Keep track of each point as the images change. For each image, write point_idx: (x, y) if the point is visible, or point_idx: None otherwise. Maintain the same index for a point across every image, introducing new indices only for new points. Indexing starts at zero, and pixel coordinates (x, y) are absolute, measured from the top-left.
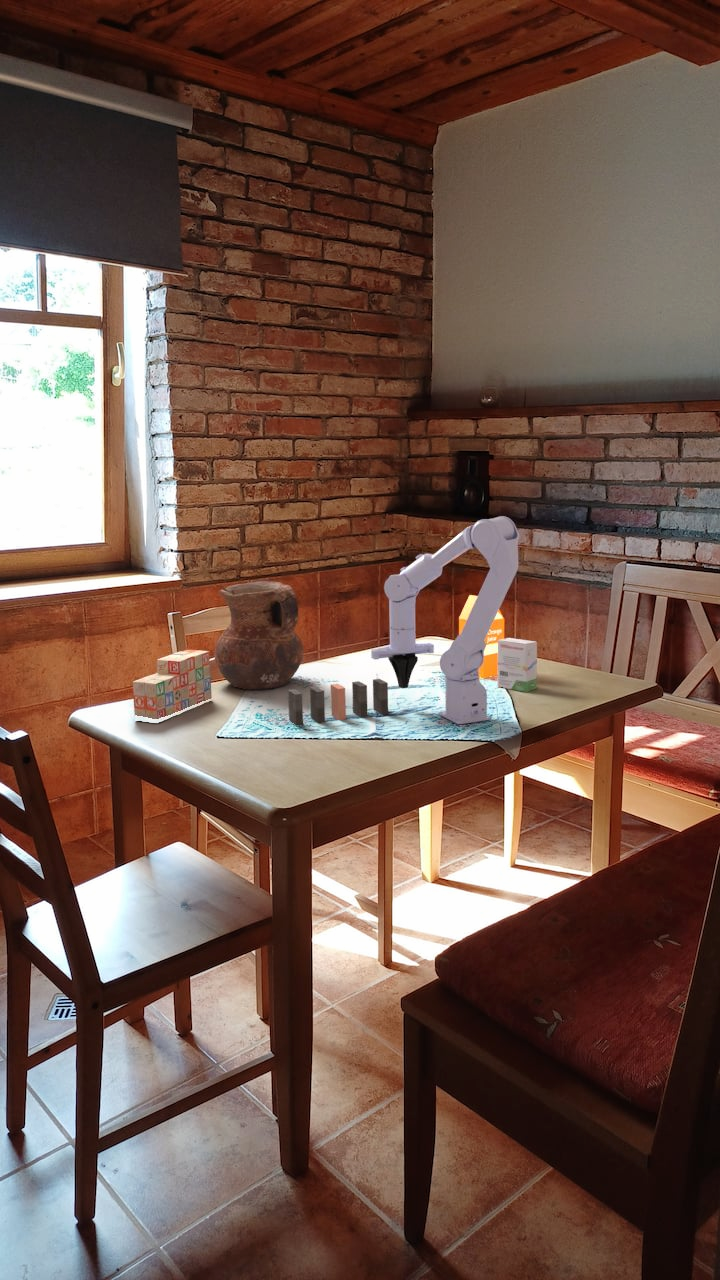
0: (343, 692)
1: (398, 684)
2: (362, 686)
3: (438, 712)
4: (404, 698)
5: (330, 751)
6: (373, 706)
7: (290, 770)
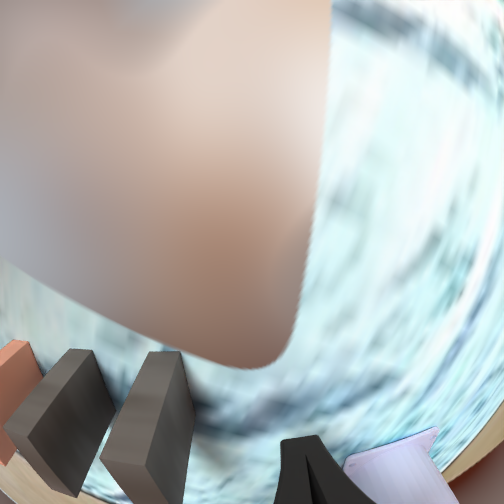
0: (8, 453)
1: (281, 449)
2: (60, 491)
3: (347, 463)
4: (364, 218)
5: (60, 499)
6: (145, 359)
7: (32, 500)
